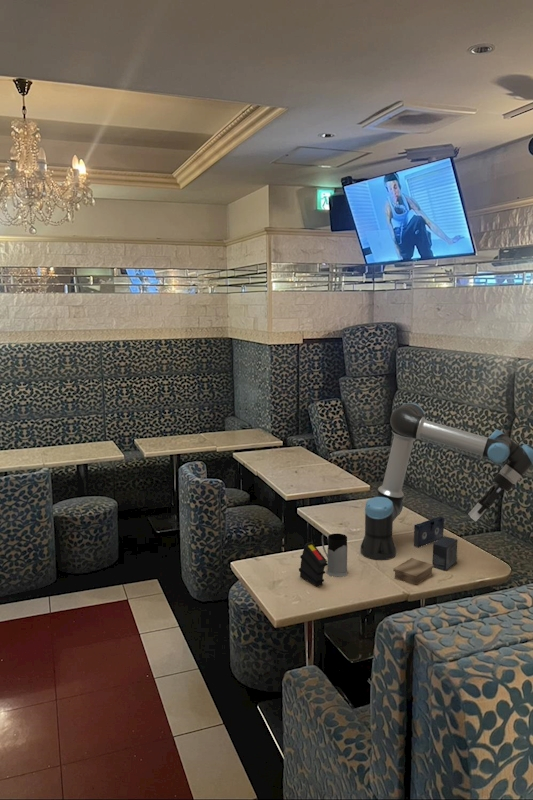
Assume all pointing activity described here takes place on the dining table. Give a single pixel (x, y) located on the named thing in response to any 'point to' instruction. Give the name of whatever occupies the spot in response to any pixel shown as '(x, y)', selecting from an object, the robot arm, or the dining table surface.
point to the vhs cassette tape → (428, 531)
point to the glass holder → (336, 555)
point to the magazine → (312, 565)
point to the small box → (445, 553)
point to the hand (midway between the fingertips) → (471, 517)
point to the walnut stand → (413, 571)
